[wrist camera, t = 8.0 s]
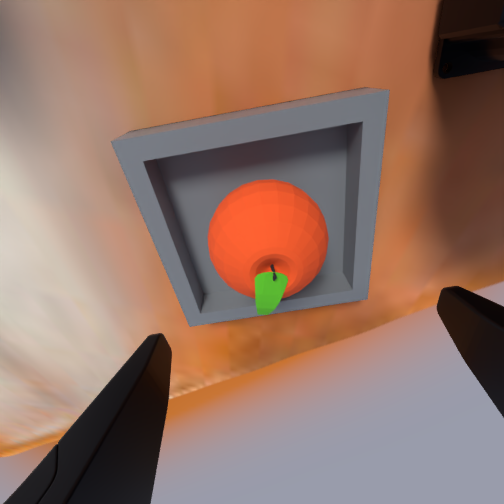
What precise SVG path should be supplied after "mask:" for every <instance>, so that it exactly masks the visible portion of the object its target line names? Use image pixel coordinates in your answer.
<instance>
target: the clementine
mask: <svg viewBox="0 0 504 504" xmlns="http://www.w3.org/2000/svg"><path fill="white" fill-rule="evenodd" d="M328 240H329V237H328V231H327V226H326V222H325V218H324V216H323V214H322V212H321V210H320V208H319V206H318V205H317V203H316V202H315V201H314V200H313V199H312V198H311V197H309V196H308V195H307V194H306V193H305V192H304V191H303V190H302V189H300V188H298V187H296V186H294V185H292V184H290V183H288V182H284V181H279V180H274V179H269V180H256V181H253V182H250V183H247V184H243V185H241V186H240V187H238V188H237V189H235V190H233V191H232V192H230V193H229V194H228V195H227V196H226V197H225V198H224V199H223V200H222V202H221V203H220V204H219V205H218V207H217V209H216V211H215V213H214V215H213V217H212V219H211V221H210V225H209V231H208V247H209V254H210V259H211V261H212V263H213V265H214V267H215V269H216V271H217V273H218V274H219V276H220V277H221V278H222V279H223V280H224V281H225V283H226V284H227V285H228V286H229V287H231V288H232V289H234V290H235V291H237V292H238V293H241V294H243V295H246V296H249V297H251V298H254V299H255V302H256V308H257V314H258V315H268V314H270V313H271V312H272V311H273V310H274V309H275V308H276V307H277V305H278V304H279V302H280V300H281V299H282V298H286V297H289V296H291V295H293V294H295V293H297V292H299V291H300V290H302V289H303V288H304V287H306V286H307V285H308V284H309V283H310V282H311V281H312V280H313V279H314V278H315V277H316V275H317V274H318V273H319V272H320V270H321V268H322V265H323V263H324V261H325V258H326V254H327V248H328Z"/></svg>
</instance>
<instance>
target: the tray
mask: <svg viewBox="0 0 504 504" xmlns="http://www.w3.org/2000/svg"><path fill="white" fill-rule="evenodd" d="M389 91H390V90H386V89H376V88H366V87H364V88H358V89H353V90H348V91H342V92H337V93H332V94H326V95H321V96H316V97H310V98H305V99H300V100H294V101H289V102H283V103H278V104H273V105H267V106H262V107H257V108H251V109H246V110H241V111H235V112H230V113H225V114H219V115H214V116H209V117H203V118H198V119H192V120H187V121H182V122H176V123H171V124H166V125H160V126H155V127H150V128H144V129H139V130H134V131H129V132H127V133H126V134H124V135H122V136H120V137H118V138H117V139H115V140H113V141H111V143H112V146H113V148H114V150H115V153H116V155H117V157H118V160H119V162H120V165H121V167H122V169H123V172H124V174H125V176H126V179H127V181H128V183H129V186H130V188H131V190H132V193H133V195H134V197H135V200H136V202H137V204H138V207H139V209H140V211H141V214H142V216H143V219H144V221H145V223H146V226H147V228H148V230H149V233H150V235H151V237H152V240H153V242H154V244H155V247H156V249H157V251H158V254H159V256H160V258H161V261H162V263H163V265H164V268H165V270H166V272H167V275H168V277H169V280H170V282H171V284H172V287H173V289H174V291H175V294H176V296H177V298H178V301H179V303H180V305H181V308H182V310H183V312H184V315H185V317H186V319H187V322H188V324H189V326H190V327H191V326H197V325H204V324H210V323H217V322H223V321H230V320H236V319H243V318H249V317H256V316H262V315H258V314H257V308H256V302H255V299H254V298H251V297H249V296H246V295H243V294H241V293H238V292H237V291H235V290H234V289H232V288H231V287H229V286H228V285H227V284H226V283H225V281H224V280H223V279H222V278H221V277H220V276H219V274H218V273H217V271H216V269H215V267H214V265H213V263H212V261H211V259H210V254H209V247H208V231H209V225H210V221H211V219H212V217H213V215H214V213H215V211H216V209H217V207H218V205H219V204H220V203H221V202H222V200H223V199H224V198H225V197H226V196H227V195H228V194H229V193H230V192H232V191H233V190H235V189H237V188H238V187H240V186H241V185H243V184H247V183H250V182H253V181H256V180H269V179H274V180H279V181H284V182H288V183H290V184H292V185H294V186H296V187H298V188H300V189H302V190H303V191H304V192H305V193H306V194H307V195H308V196H309V197H311V198H312V199H313V200H314V201H315V202H316V203H317V205H318V206H319V208H320V210H321V212H322V214H323V216H324V218H325V222H326V226H327V231H328V237H329V240H328V248H327V254H326V258H325V261H324V263H323V265H322V268H321V270H320V272H319V273H318V274H317V275H316V277H315V278H314V279H313V280H312V281H311V282H310V283H309V284H308V285H307V286H306V287H304V288H303V289H302V290H300V291H299V292H297V293H295V294H293V295H291V296H289V297H286V298H282V299H281V300H280V302H279V304H278V305H277V307H276V308H275V309H274V310H273V311H272V312H271V313H270V314H275V313H282V312H288V311H295V310H301V309H308V308H314V307H321V306H327V305H334V304H340V303H347V302H353V301H360V300H366V299H368V290H369V280H370V271H371V261H372V252H373V242H374V233H375V223H376V214H377V204H378V195H379V186H380V176H381V167H382V157H383V148H384V138H385V129H386V119H387V110H388V100H389ZM268 315H269V314H268Z"/></svg>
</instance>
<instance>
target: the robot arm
mask: <svg viewBox="0 0 504 504" xmlns="http://www.w3.org/2000/svg"><path fill="white" fill-rule="evenodd" d="M438 34H439V36H440V37H439V43H438V49H437V54H436V60H435V65H434V75H435V77H436V78H440V79H446V78H452V77H457V76H462V75H468V74H473V73H478V72H484V71H489V70H495V69H500V68H504V0H444V4H443V9H442V15H441V21H440V27H439V32H438ZM446 63H447V65H448V67H447V70H446V71H445V72H443V67H444V65H445V64H446ZM437 311H438V314H439V316H440V318H441V320H442V321H443V323H444V325H445V327H446V329H447V331H448V332H449V334H450V336H451V338H452V339H453V341H454V343H455V345H456V347H457V349H458V351H459V352H460V354H461V356H462V357H463V359H464V360H465V362H466V364H467V365H468V367H469V368H470V369H471V371H472V372H473V374H474V375H475V377H476V378H477V380H478V381H479V383H480V384H481V385H482V387H483V388H484V390H485V391H486V392H487V394H488V396H489V397H490V398H491V400H492V401H493V403H494V404H495V405H496V407H497V409H498V410H499V411H500V413H501V414H502V416H503V417H504V307H503V306H501V305H499V304H497V303H495V302H493V301H490V300H488V299H486V298H483V297H482V296H479V295H477V294H475V293H473V292H471V291H468V290H466V289H464V288H462V287H459V286H451V287H445V288H443V289H442V290H441V293H440V296H439V300H438V303H437ZM171 359H172V351H171V348H170V346H169V344H168V342H167V340H166V338H165V337H164V335H163V334H162V333H158V334H152V335H149V336H148V337H147V338H146V339H145V340H144V342H143V343H142V344H141V345H140V346H139V348H138V349H137V350H136V351H135V352H134V353H133V355H132V356H131V357H130V358H129V359H128V360H127V362H126V363H125V364H124V365H123V366H122V367H121V369H120V370H119V371H118V372H117V373H116V375H115V376H114V377H113V378H112V379H111V380H110V382H109V383H108V384H107V385H106V386H105V387H104V389H103V390H102V391H101V392H100V393H99V395H98V396H97V397H96V398H95V399H94V400H93V402H92V403H91V404H90V405H89V406H88V407H87V409H86V410H85V411H84V412H83V413H82V415H81V416H80V417H79V418H78V419H77V420H76V422H75V423H74V424H73V425H72V426H71V427H70V429H69V430H68V431H67V432H66V433H65V435H64V436H63V437H62V438H61V439H60V440H59V442H58V444H57V445H55V446H54V447H53V449H52V450H51V451H50V452H49V453H48V454H47V456H46V457H45V458H44V459H43V460H42V461H41V463H40V464H39V465H38V466H37V467H36V468H35V469H34V470H33V472H32V473H31V474H30V475H29V476H28V477H27V479H26V480H25V481H24V482H23V483H22V484H21V485H20V486H19V487H18V488H17V490H16V491H15V492H14V493H13V494H12V495H11V496H10V497H9V498H8V499H7V500H6V501H5V502H4V503H3V504H150V503H151V497H152V492H153V486H154V480H155V475H156V469H157V464H158V458H159V452H160V447H161V441H162V436H163V430H164V424H165V419H166V413H167V407H168V400H169V388H170V374H171Z"/></svg>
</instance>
